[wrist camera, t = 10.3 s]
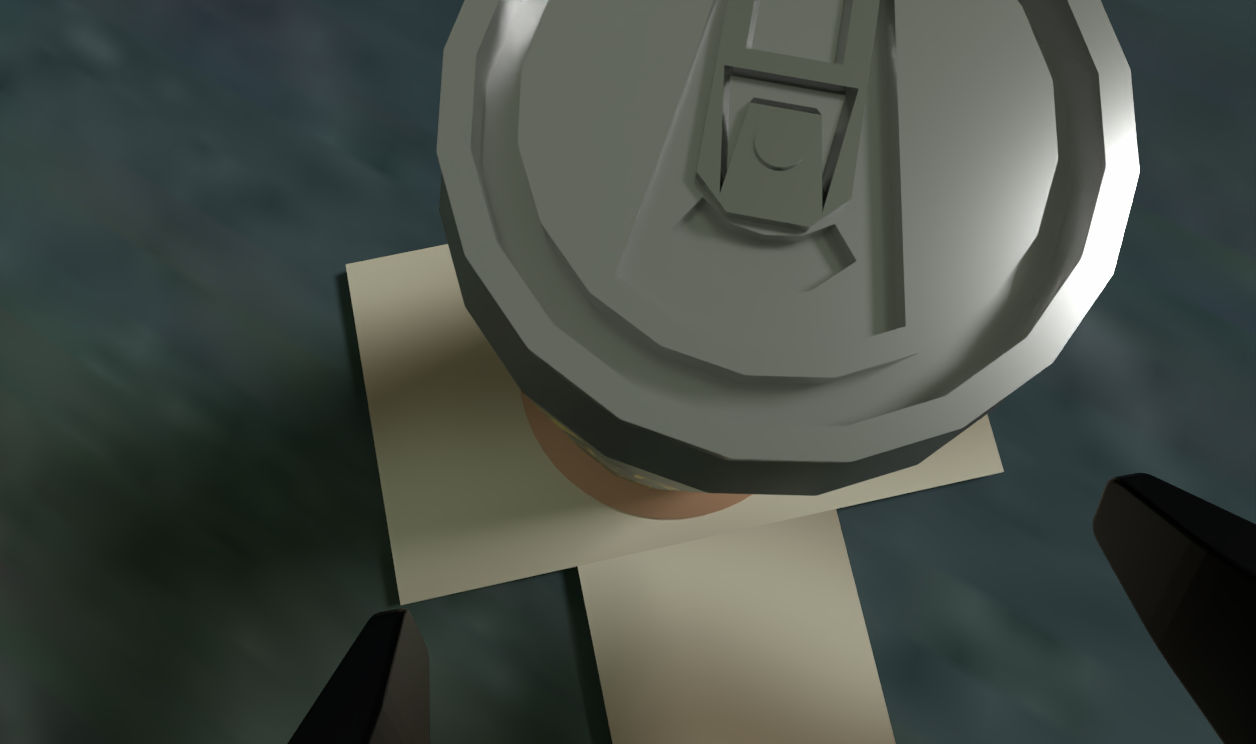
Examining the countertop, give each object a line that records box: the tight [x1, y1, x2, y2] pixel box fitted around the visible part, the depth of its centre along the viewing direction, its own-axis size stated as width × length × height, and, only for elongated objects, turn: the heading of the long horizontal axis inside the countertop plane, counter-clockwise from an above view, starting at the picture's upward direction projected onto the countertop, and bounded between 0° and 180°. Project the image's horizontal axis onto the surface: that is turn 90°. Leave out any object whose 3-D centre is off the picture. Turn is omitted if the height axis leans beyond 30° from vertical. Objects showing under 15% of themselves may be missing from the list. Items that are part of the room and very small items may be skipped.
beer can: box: [437, 0, 1139, 496], centre depth 11 cm, size 5×5×12 cm
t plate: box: [346, 244, 1004, 744], centre depth 16 cm, size 18×14×1 cm
